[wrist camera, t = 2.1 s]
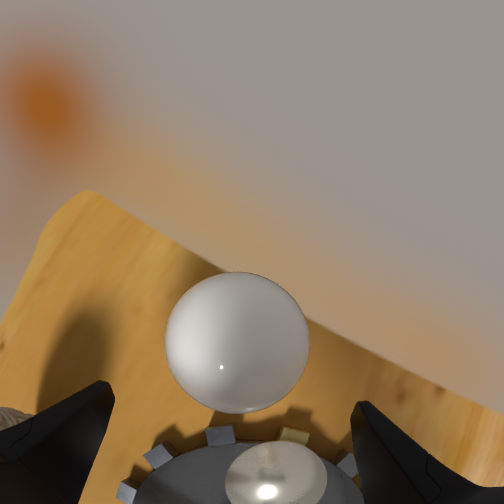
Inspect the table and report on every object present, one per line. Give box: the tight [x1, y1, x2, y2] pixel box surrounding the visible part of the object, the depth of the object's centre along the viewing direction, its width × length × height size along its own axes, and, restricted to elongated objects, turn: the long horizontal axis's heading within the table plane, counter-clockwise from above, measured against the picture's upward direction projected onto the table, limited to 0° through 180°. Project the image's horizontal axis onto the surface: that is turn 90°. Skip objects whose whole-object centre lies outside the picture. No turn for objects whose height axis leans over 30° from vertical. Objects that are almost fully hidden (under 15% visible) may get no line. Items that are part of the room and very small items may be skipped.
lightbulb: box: [164, 272, 310, 414], centre depth 14 cm, size 6×6×11 cm
